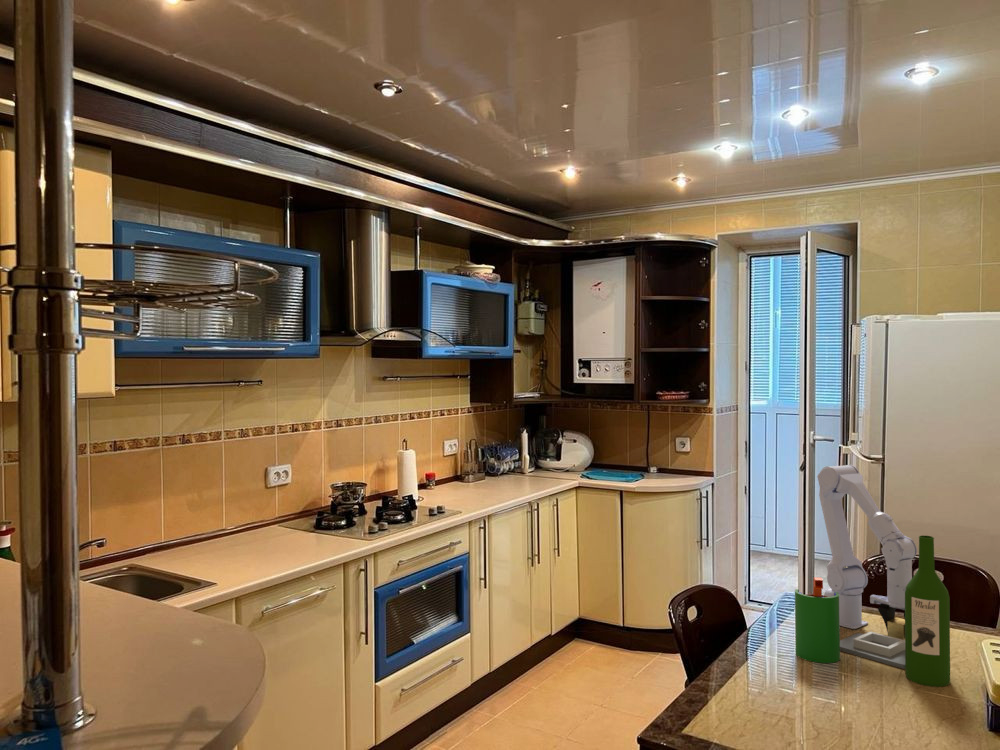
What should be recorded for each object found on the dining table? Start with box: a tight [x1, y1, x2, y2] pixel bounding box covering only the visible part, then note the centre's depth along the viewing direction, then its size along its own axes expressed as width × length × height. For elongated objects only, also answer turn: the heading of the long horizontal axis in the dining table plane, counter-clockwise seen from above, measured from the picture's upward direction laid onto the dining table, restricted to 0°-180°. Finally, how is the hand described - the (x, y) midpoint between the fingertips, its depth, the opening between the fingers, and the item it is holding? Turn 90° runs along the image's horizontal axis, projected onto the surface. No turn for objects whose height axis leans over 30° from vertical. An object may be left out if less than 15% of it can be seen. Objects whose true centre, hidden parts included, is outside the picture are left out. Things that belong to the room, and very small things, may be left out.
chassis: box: [840, 631, 905, 670], centre depth 191 cm, size 18×14×3 cm
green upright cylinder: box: [794, 576, 841, 664], centre depth 188 cm, size 10×9×20 cm
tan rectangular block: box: [887, 617, 905, 640], centre depth 197 cm, size 4×5×6 cm
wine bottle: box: [904, 535, 951, 688], centre depth 173 cm, size 9×9×32 cm
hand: (899, 636), depth 197 cm, fingers closed on tan rectangular block, 4 cm apart
